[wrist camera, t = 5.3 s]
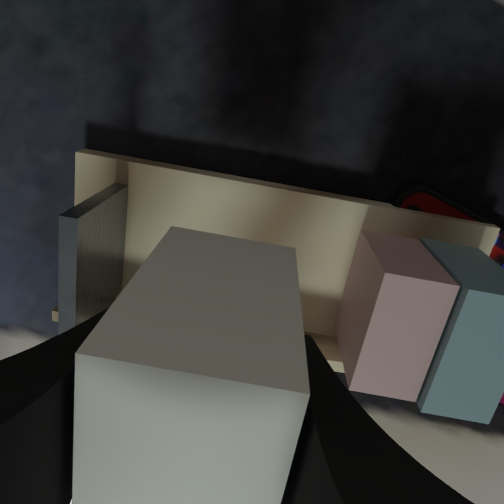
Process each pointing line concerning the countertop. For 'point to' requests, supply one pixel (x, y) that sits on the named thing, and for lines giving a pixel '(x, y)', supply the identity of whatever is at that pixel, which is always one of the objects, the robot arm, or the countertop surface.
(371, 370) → the shelved books
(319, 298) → the shelf board
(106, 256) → the bookend
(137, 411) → the book
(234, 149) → the countertop surface
